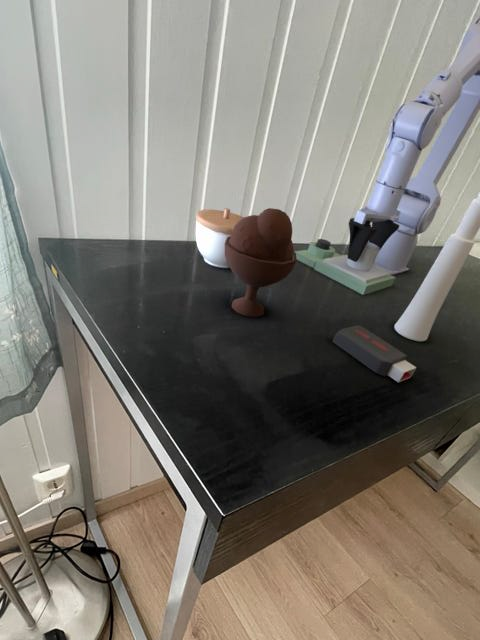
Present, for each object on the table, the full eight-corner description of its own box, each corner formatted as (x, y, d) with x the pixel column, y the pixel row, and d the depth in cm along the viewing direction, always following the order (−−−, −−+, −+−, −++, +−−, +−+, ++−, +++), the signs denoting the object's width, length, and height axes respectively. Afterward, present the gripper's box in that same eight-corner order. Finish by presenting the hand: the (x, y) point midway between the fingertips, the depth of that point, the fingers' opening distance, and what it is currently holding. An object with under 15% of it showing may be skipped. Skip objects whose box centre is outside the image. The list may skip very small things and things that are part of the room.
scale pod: (322, 252, 93) (326, 240, 91) (342, 262, 90) (347, 249, 88) (292, 257, 85) (296, 243, 83) (313, 268, 83) (317, 254, 81)
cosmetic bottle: (415, 325, 70) (490, 191, 56) (433, 343, 66) (519, 203, 52) (387, 322, 69) (457, 184, 54) (404, 340, 64) (484, 195, 50)
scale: (345, 263, 90) (349, 251, 88) (391, 286, 85) (397, 274, 83) (313, 269, 82) (317, 257, 81) (362, 295, 77) (368, 282, 75)
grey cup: (354, 259, 85) (362, 238, 82) (375, 269, 82) (384, 248, 79) (340, 262, 81) (348, 240, 78) (362, 273, 79) (371, 250, 76)
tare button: (320, 245, 88) (322, 238, 86) (330, 250, 86) (333, 243, 85) (313, 246, 86) (315, 239, 85) (323, 251, 84) (325, 244, 83)
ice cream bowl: (279, 301, 66) (306, 206, 56) (279, 331, 58) (310, 226, 48) (220, 287, 65) (236, 189, 55) (211, 316, 57) (228, 206, 47)
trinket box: (180, 256, 72) (185, 201, 66) (213, 247, 80) (221, 197, 73) (225, 277, 69) (234, 222, 63) (255, 266, 76) (267, 215, 70)
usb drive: (352, 336, 62) (359, 321, 60) (413, 377, 56) (422, 361, 54) (332, 341, 59) (338, 325, 57) (393, 385, 53) (403, 369, 51)
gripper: (391, 191, 65) (359, 269, 74) (424, 192, 74) (392, 261, 83) (357, 179, 68) (331, 255, 77) (393, 181, 77) (366, 249, 86)
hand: (361, 258), depth 81 cm, fingers open, 7 cm apart
